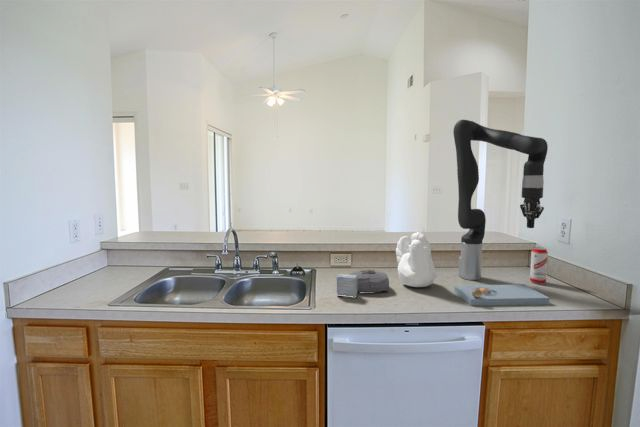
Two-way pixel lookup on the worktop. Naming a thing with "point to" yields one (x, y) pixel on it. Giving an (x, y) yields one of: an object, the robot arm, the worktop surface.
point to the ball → (484, 291)
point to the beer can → (538, 265)
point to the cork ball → (476, 293)
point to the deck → (502, 295)
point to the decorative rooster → (415, 261)
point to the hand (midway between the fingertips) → (530, 227)
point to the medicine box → (347, 285)
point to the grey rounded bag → (371, 281)
